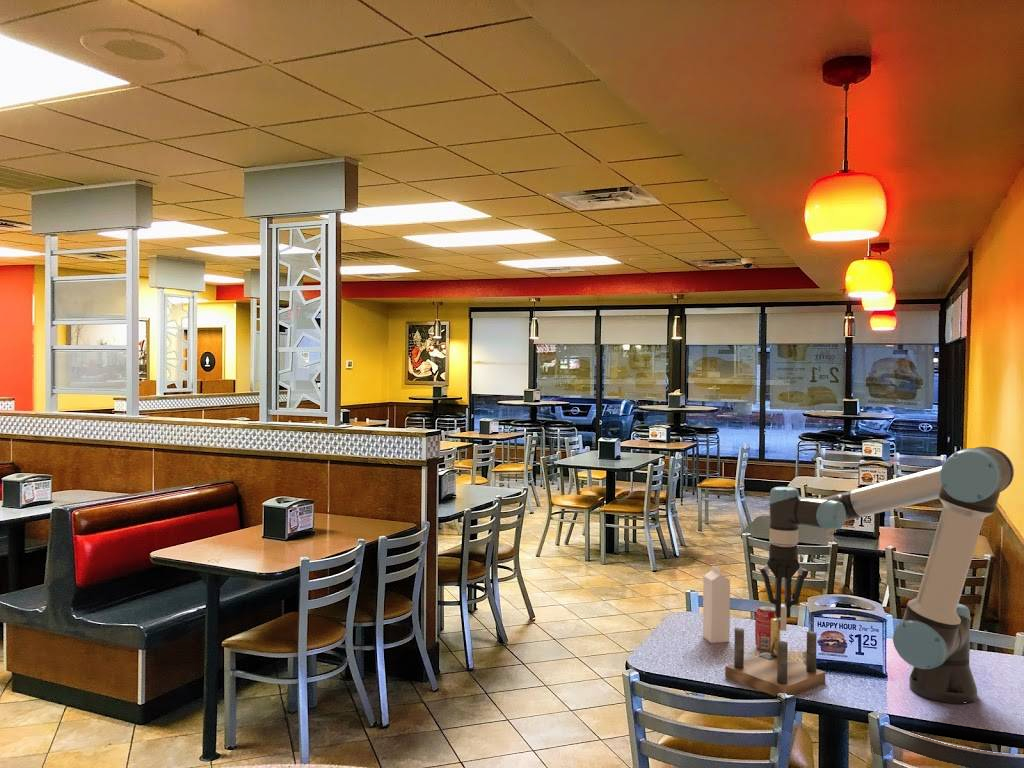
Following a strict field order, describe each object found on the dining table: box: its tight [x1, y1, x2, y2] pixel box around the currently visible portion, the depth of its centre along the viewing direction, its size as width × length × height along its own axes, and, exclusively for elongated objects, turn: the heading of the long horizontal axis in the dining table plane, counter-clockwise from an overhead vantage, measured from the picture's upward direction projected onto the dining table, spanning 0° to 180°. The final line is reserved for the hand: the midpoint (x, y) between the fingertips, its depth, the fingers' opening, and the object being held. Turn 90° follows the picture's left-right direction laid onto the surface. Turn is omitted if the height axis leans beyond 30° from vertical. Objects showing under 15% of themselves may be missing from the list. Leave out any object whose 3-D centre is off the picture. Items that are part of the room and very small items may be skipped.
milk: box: [702, 565, 731, 644], centre depth 238 cm, size 6×6×22 cm
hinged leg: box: [769, 618, 781, 656], centre depth 215 cm, size 5×2×9 cm, turn 10°
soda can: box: [754, 604, 779, 652], centre depth 231 cm, size 7×7×12 cm
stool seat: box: [724, 627, 826, 697], centre depth 206 cm, size 18×18×13 cm
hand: (782, 629), depth 215 cm, fingers closed
